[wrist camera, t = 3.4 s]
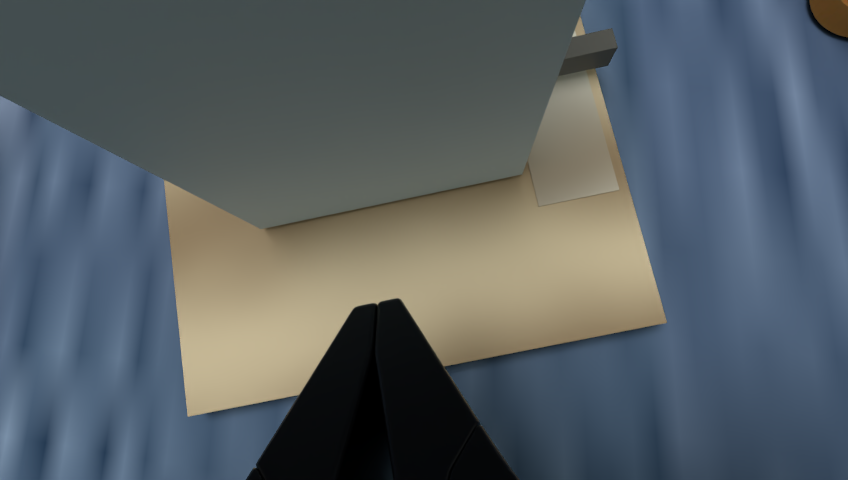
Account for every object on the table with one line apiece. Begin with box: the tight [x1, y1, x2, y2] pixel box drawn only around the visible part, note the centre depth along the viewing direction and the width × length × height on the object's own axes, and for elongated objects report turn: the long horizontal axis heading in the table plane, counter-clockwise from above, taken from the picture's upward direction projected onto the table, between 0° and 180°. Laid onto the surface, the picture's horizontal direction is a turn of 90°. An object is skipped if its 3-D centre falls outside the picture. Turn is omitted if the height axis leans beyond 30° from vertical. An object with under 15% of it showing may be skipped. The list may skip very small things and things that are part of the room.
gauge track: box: [164, 17, 667, 417], centre depth 17 cm, size 24×14×1 cm, turn 11°
